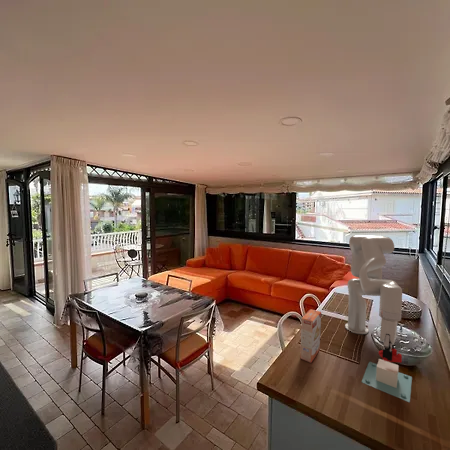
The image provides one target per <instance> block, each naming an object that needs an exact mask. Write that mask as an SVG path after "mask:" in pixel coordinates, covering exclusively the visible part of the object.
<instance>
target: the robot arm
mask: <svg viewBox="0 0 450 450" xmlns="http://www.w3.org/2000/svg"><path fill="white" fill-rule="evenodd" d="M348 244H349V248H350V252H351V266H350V267H351V268H350V272H351V275H352V276H353V277H355V278H351V279H348V281H347V291H348V311H347V312H348V314H347V323H345V325H344V327H345V329H346V330H347V331H348V330H349V331H348V332H350V331H351V332H350V333H353V334H357V335H367V334H368V333H369V329H368V328H367V325H366V324H367V323H366V322H367V301H366V300H365V298H364V297H363V296H370V297H379V311H378V312H379V313H378V315H379V317H380V318H381V321H380V333H379V334H380V335H379V342H380V343H381V342H383V346H382V347H383V348H382V350H383V358H384V357H385V358H387V360H389V361H392V349H395V342H396V339H397V333H398V332H397V330H398V322H401V321H402V305H403V304H402V303H403V289H402V287H401V286H399V284H398V283H397V282H396V281H395V280H393V279H383V267H384V266H385V265H386V264H387V260H386V257H385V254H392V253H393V252H394V251H395V244H394V241H393V240H392V238H390V237H388V236H383V235H364V234H363V235H362V234H361V235H352V236H350V237H349V241H348ZM389 361H388V362H389Z"/></svg>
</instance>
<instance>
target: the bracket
mask: <svg viewBox="0 0 450 450" xmlns="http://www.w3.org/2000/svg"><path fill="white" fill-rule="evenodd" d="M378 355H379V357H380V359H382V360H384V361H387V362H390V363H402V360H403V359H402V358H403V356H402V354H401V353H398V350H397V349H396V348H394V349H392V361H389V360H387V358H385V357H384V358H383V349H381V350H378Z"/></svg>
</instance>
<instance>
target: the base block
mask: <svg viewBox="0 0 450 450" xmlns="http://www.w3.org/2000/svg"><path fill="white" fill-rule="evenodd" d="M377 361H378V362H377V363H376V364H377V371H376V380H377V381H380V382H382V383H385V384H387V385H390V386H392V387H395V388H397V382H398V372H399V367H400V366H399V365H398V364H396V363H394V362H389V361H384V360H383V359H382V358H378V360H377Z"/></svg>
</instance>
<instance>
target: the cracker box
mask: <svg viewBox="0 0 450 450" xmlns="http://www.w3.org/2000/svg"><path fill="white" fill-rule="evenodd" d="M321 324H322V311H319V310H315V309H309V310H308V311H307V312H306V313H305V314H304V315H303V316H302V317H301V329H300V330H301V331H300V332H301V333H300V334H301V335H300V355H299V356H300V359H301V360H302V361H304V362H305V361H306V362H308V363H312V362H313V361H314V359H315V357H316V356H317V354H318V353H319V351H320V350H321V349H320V348H321V346H320V343H321V327H322V325H321Z"/></svg>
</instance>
